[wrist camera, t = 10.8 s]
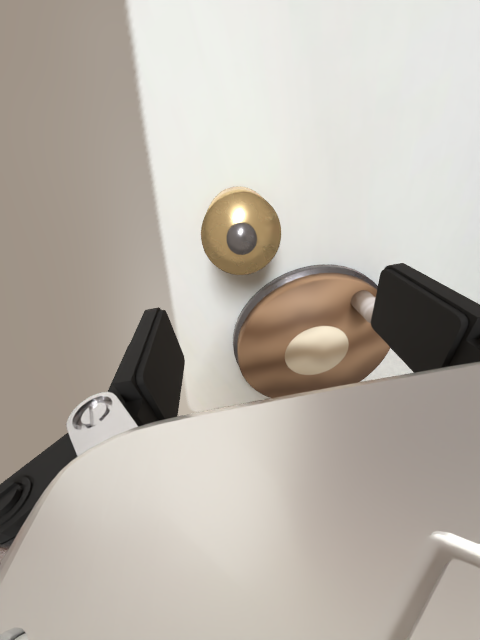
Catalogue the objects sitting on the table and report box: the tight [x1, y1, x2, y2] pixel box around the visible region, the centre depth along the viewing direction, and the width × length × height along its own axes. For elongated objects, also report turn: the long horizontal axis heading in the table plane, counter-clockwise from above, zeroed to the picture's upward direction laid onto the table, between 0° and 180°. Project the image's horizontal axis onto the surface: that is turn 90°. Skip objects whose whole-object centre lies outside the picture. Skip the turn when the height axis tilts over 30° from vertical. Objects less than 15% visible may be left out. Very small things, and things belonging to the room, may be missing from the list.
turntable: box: [237, 273, 390, 398], centre depth 32 cm, size 22×22×6 cm
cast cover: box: [201, 187, 281, 275], centre depth 23 cm, size 7×7×7 cm
